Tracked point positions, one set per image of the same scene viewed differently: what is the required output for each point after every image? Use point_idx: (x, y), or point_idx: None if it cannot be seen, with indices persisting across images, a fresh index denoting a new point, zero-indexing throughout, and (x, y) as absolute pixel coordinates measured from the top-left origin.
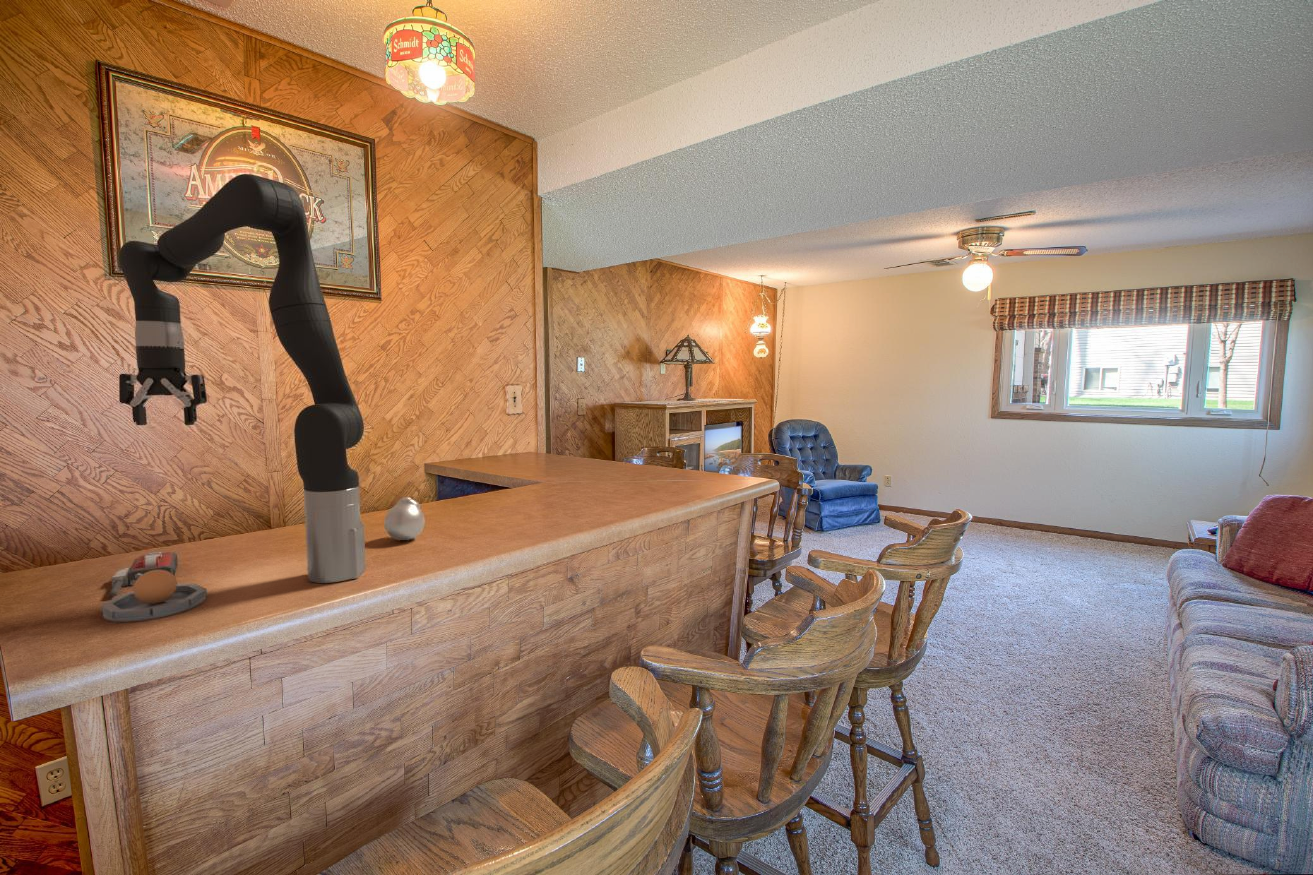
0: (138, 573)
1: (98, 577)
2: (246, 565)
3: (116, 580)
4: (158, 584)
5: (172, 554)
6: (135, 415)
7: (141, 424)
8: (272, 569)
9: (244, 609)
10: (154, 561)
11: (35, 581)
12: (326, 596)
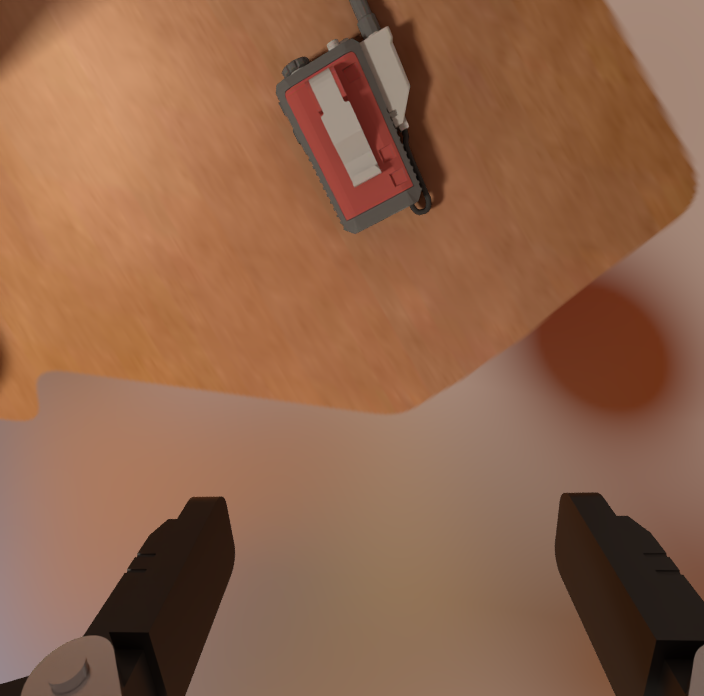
0: (333, 45)
1: (476, 135)
2: (173, 197)
3: (370, 15)
4: None
5: (345, 214)
6: (640, 551)
7: (562, 505)
8: (87, 152)
9: None
10: (311, 80)
11: (613, 119)
12: None
